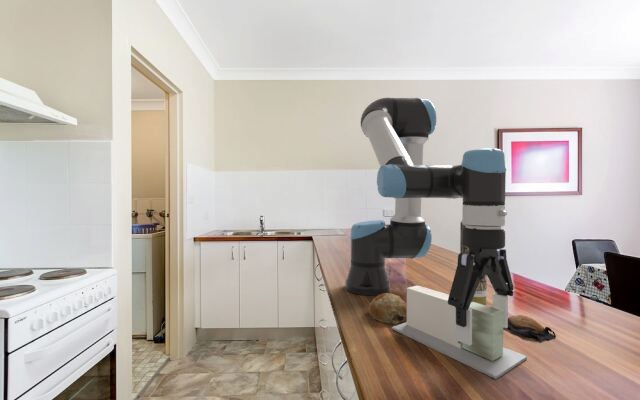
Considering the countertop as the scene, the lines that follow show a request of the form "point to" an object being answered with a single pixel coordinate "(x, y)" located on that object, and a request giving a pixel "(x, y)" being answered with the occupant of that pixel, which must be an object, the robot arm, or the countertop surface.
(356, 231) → the robot arm
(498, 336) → the pale green block
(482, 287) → the paper tube
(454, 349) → the block
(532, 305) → the countertop surface
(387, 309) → the bread roll
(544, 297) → the countertop surface
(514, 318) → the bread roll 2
